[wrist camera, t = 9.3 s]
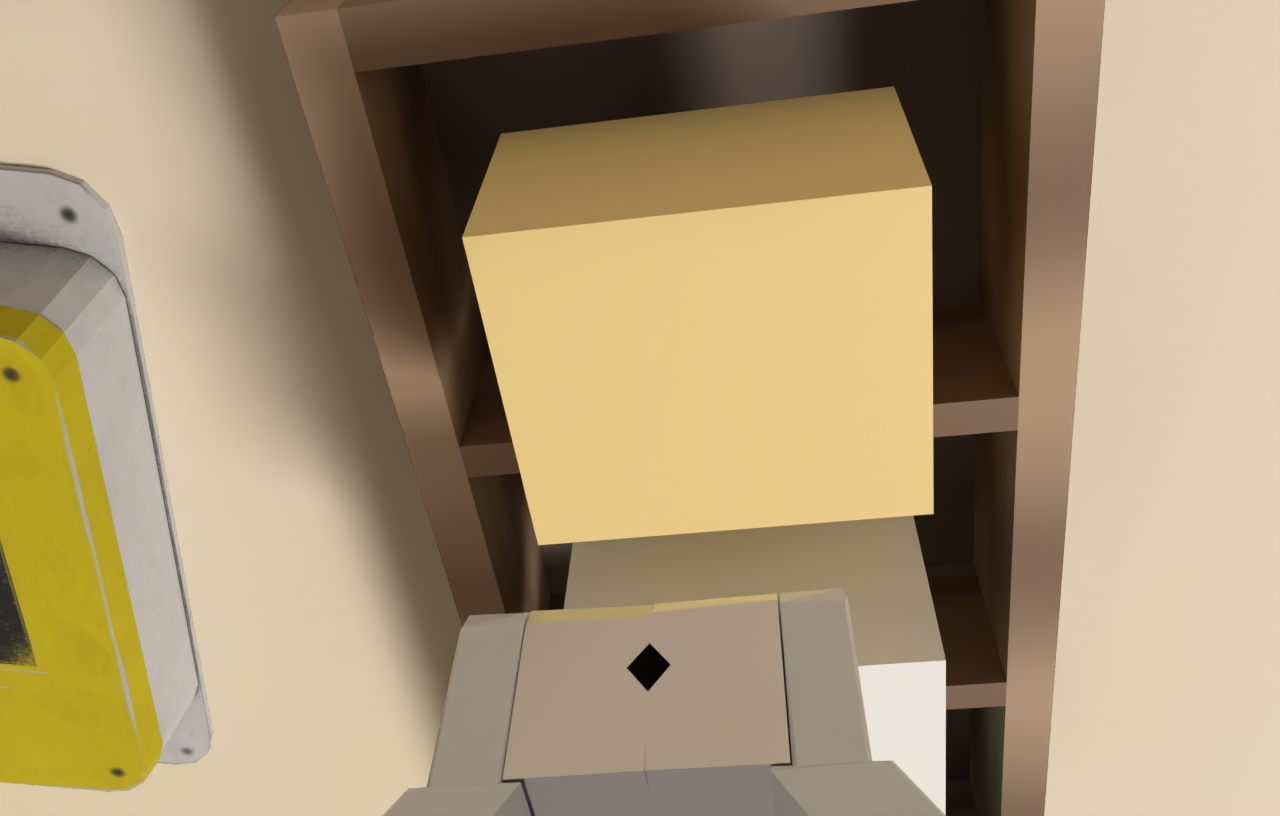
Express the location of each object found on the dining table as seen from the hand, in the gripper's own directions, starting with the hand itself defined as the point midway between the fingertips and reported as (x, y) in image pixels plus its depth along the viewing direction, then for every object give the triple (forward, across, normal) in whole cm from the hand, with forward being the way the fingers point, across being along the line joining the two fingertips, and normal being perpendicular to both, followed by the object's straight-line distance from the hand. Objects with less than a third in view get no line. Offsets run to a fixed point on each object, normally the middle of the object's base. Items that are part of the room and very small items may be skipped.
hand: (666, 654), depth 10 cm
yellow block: (+9, 0, +1) cm, 9 cm away
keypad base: (+11, 0, +7) cm, 13 cm away
